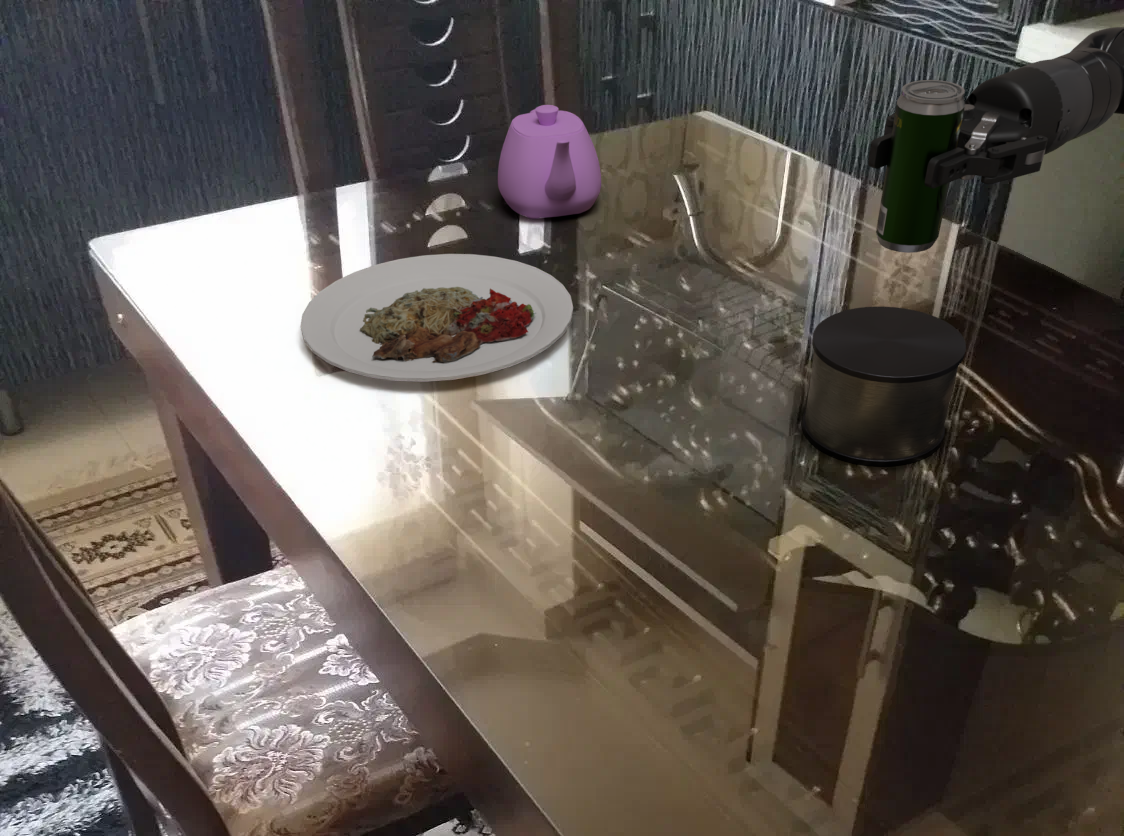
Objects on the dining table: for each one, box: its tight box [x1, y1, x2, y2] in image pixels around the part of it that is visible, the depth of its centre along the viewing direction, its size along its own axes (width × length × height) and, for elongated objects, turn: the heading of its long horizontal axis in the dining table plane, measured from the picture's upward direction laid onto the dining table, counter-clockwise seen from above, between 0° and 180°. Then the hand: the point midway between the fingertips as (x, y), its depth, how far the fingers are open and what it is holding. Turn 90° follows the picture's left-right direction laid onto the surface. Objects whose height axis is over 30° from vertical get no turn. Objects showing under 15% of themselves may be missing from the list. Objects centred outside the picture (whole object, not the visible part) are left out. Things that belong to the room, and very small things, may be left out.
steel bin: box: [801, 305, 967, 467], centre depth 107 cm, size 14×14×9 cm
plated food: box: [300, 253, 574, 383], centre depth 127 cm, size 30×30×3 cm
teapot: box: [497, 104, 602, 220], centre depth 146 cm, size 20×13×12 cm, turn 13°
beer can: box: [875, 79, 966, 254], centre depth 96 cm, size 5×5×12 cm
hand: (901, 164), depth 94 cm, fingers closed on beer can, 5 cm apart
